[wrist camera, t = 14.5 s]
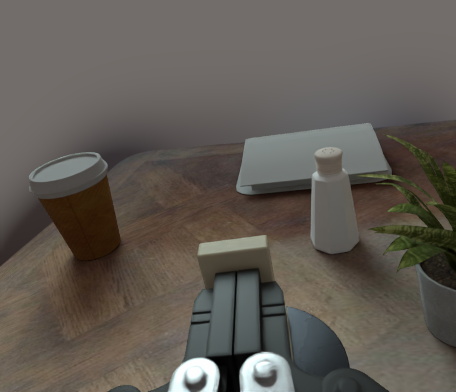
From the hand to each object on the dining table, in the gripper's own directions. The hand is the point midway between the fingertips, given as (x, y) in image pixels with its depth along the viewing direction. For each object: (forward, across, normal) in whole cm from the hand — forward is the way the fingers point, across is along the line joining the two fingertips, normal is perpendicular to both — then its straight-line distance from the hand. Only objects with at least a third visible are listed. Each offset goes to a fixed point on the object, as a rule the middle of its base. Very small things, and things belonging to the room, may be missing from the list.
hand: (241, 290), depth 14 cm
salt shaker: (+28, -7, +18) cm, 34 cm away
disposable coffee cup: (+33, +23, +18) cm, 44 cm away
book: (+49, -7, +18) cm, 52 cm away
